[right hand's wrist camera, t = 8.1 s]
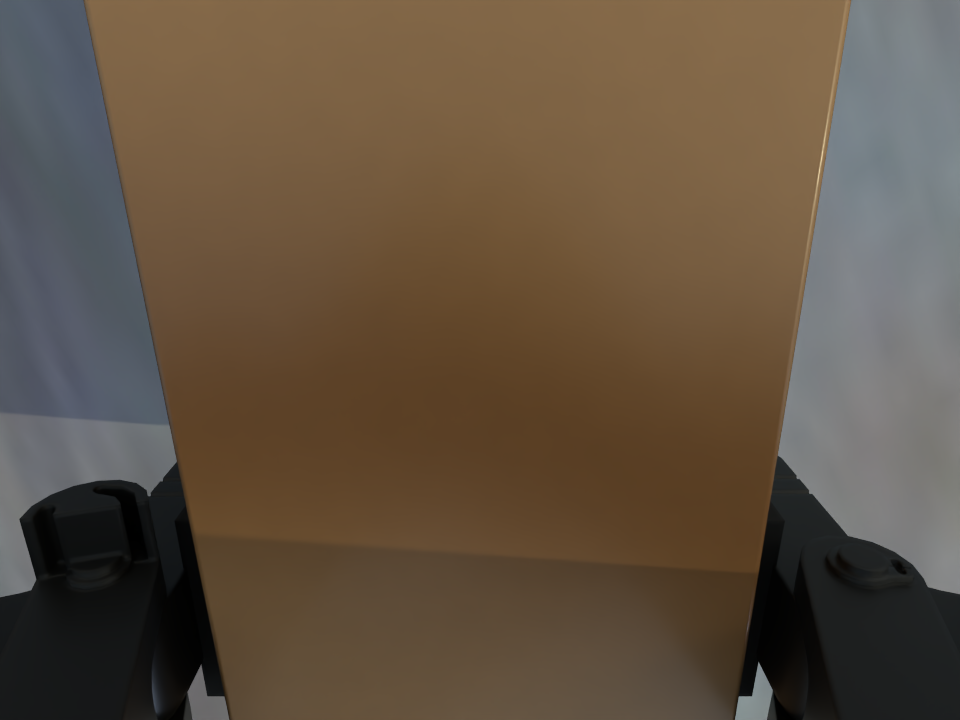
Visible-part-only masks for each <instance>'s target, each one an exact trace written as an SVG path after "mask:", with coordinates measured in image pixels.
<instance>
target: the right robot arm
mask: <svg viewBox="0 0 960 720" xmlns="http://www.w3.org/2000/svg"><path fill="white" fill-rule="evenodd" d="M20 523H21V526H22V530H23V534H24V537H25V541H26V544H27V548H28V551H29V555H30V558H31V562H32V565H33V569H34V572H35V576H36V579H37V580H36V582H35V584H34V586H33V588H32V590H31V591H27V592H23V593H20V594H15V595H10V596H5V597H0V720H192V714H191V708H190V702H189V698H188V693H187V692H188V690H189V688H190V686H191V684H192V682H193V680H194V678H195V675H196V673H197V671H198V669H199V667H200V665H201V664H202V670H203V675H204V680H205V686H206V691H207V696H225V695H224V690H223V685H222V680H221V675H220V670H219V665H218V660H217V656H216V651H215V646H214V641H213V636H212V631H211V626H210V621H209V616H208V611H207V606H206V601H205V596H204V591H203V587H202V582H201V577H200V572H199V567H198V562H197V557H196V552H195V547H194V542H193V537H192V532H191V527H190V522H189V518H188V513H187V508H186V503H185V498H184V493H183V488H182V483H181V478H180V473H179V468H178V463H177V462H176V464H175V465H174V466H173V467H172V468H171V470H170V471H169V472H168V473H167V474H166V475H165V477H164V478H163V482H160V483H159V484H158V485H157V486H156V487H155V488H154V490H153V491H152V492H151V496H148V495H147V490H145V489H144V488H143V487H141V486H140V485H138V484H137V483H133V482H128V481H123V480H107V481H95V482H91V483H86V484H81V485H77V486H73V487H70V488H68V489H65V490H62V491H60V492H57V493H54V494H52V495H50V496H48V497H46V498H45V499H43V500H41V501H40V502H38V503H36V504H35V505H33V506H31V508H30V509H29V510H28V511H27V512H26V513H25V514H24V515H23V516H22V517H21V518H20ZM758 661H759V663H760V665H761V667H762V669H763V671H764V673H765V675H766V677H767V679H768V681H769V683H770V685H771V687H772V689H773V693H772V698H771V702H770V707H769V712H768V717H767V720H960V594H955V593H950V592H945V591H940V590H936V589H933V588H929V587H927V585H926V583H925V581H924V579H923V577H922V576H921V575H920V574H919V572H918V571H917V570H916V569H915V567H914V566H913V565H912V564H911V563H909V562H908V561H907V560H905V559H904V558H902V557H901V556H899V555H898V554H897V553H895V552H893V551H891V550H889V549H887V548H884V547H882V546H880V545H878V544H875V543H873V542H870V541H866V540H862V539H858V538H853V537H849V536H847V534H846V533H845V532H844V531H843V530H842V529H841V527H840V526H839V525H838V524H837V523H836V522H835V520H834V519H833V518H832V517H831V516H830V514H829V513H828V512H827V511H826V510H825V509H824V507H823V506H822V505H821V504H820V503H819V502H818V500H817V499H816V498H815V497H814V496H813V494H809V490H808V489H807V487H806V486H805V485H804V484H803V483H802V482H801V480H800V479H797V478H796V475H795V473H794V472H793V471H792V470H791V469H790V467H789V466H788V465H787V464H786V463H785V462H784V460H783V459H782V458H781V457H779V456H777V462H776V468H775V474H774V480H773V487H772V493H771V499H770V505H769V511H768V518H767V524H766V530H765V536H764V542H763V548H762V555H761V561H760V567H759V573H758V579H757V586H756V592H755V598H754V604H753V610H752V617H751V623H750V629H749V635H748V641H747V648H746V654H745V660H744V666H743V672H742V678H741V685H740V691H739V696H752V693H753V688H754V682H755V677H756V672H757V667H758Z"/></svg>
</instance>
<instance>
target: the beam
mask: <svg viewBox="0 0 960 720" xmlns="http://www.w3.org/2000/svg"><path fill="white" fill-rule="evenodd" d="M850 4H851V0H84V5H85V10H86V15H87V20H88V25H89V30H90V35H91V40H92V45H93V49H94V54H95V59H96V64H97V69H98V74H99V79H100V84H101V89H102V94H103V99H104V104H105V109H106V114H107V118H108V123H109V128H110V133H111V138H112V143H113V148H114V153H115V158H116V163H117V168H118V173H119V178H120V182H121V187H122V192H123V197H124V202H125V207H126V212H127V217H128V222H129V227H130V232H131V237H132V242H133V247H134V251H135V256H136V261H137V266H138V271H139V276H140V281H141V286H142V291H143V296H144V301H145V306H146V311H147V316H148V320H149V325H150V330H151V335H152V340H153V345H154V350H155V355H156V360H157V365H158V370H159V375H160V380H161V385H162V389H163V394H164V399H165V404H166V409H167V414H168V419H169V424H170V429H171V434H172V439H173V444H174V449H175V454H176V458H177V463H178V468H179V473H180V478H181V483H182V488H183V493H184V498H185V503H186V508H187V513H188V518H189V522H190V527H191V532H192V537H193V542H194V547H195V552H196V557H197V562H198V567H199V572H200V577H201V582H202V587H203V591H204V596H205V601H206V606H207V611H208V616H209V621H210V626H211V631H212V636H213V641H214V646H215V651H216V656H217V660H218V665H219V670H220V675H221V680H222V685H223V690H224V695H225V700H226V705H227V710H228V715H229V720H735V716H736V709H737V703H738V697H739V691H740V685H741V678H742V672H743V666H744V660H745V654H746V648H747V641H748V635H749V629H750V623H751V617H752V610H753V604H754V598H755V592H756V586H757V579H758V573H759V567H760V561H761V555H762V548H763V542H764V536H765V530H766V524H767V518H768V511H769V505H770V499H771V493H772V487H773V480H774V474H775V468H776V462H777V456H778V449H779V443H780V437H781V431H782V425H783V418H784V412H785V406H786V400H787V394H788V388H789V381H790V375H791V369H792V363H793V357H794V350H795V344H796V338H797V332H798V326H799V319H800V313H801V307H802V301H803V295H804V288H805V282H806V276H807V270H808V264H809V258H810V251H811V245H812V239H813V233H814V227H815V220H816V214H817V208H818V202H819V196H820V189H821V183H822V177H823V171H824V165H825V159H826V152H827V146H828V140H829V134H830V128H831V121H832V115H833V109H834V103H835V97H836V90H837V84H838V78H839V72H840V66H841V59H842V53H843V47H844V41H845V35H846V29H847V22H848V16H849V10H850Z"/></svg>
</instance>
